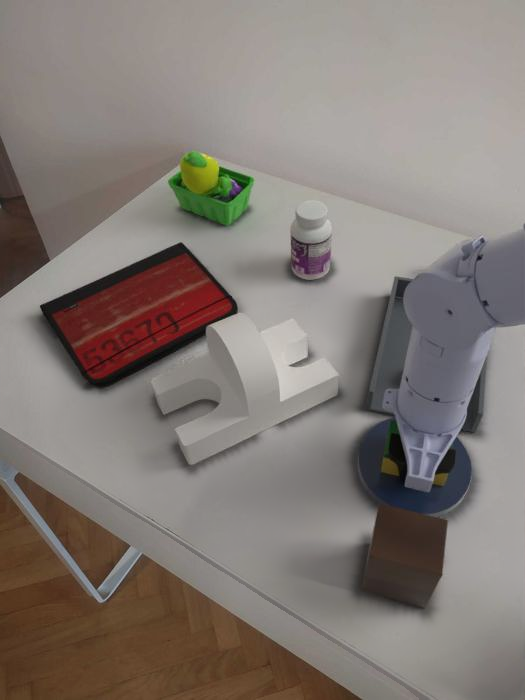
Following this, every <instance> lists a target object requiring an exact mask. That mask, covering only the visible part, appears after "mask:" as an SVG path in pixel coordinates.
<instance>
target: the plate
mask: <svg viewBox="0 0 525 700" xmlns="http://www.w3.org/2000/svg"><path fill="white" fill-rule="evenodd" d="M390 420H395V421H396V417H395V416H393V417H389V418H387V419H384V420H382V421H380V422H379V423H376V424H375V425H374V426H373V427H371V429H370V430H368V432H367V433H366V434H365V435H364V436H363V438H362V441H361V442H360V446H359V449H358V454H357V472H358V476H359V480H360V482H361V484H362V486H363V488H364V489H365V491H366V493H367V494H368V495H369V496H370V497H371V499H372V500H373V501H375V502H376V503H377V504H378V505H379V503H380V504H384V505H388V506H392V507H396V508H401V509H405V510H409V511H413V512H417V513H421V514H425V515H429V516H433V517H437V518H440V517H442V516H444V515H446V514H448V513H450V512H451V511H453V510H455V509H456V508H457V507H458V506H459V505H460V504H461V503H462V501H463V500H464V498H465V497H466V495H467V492H468V490H469V488H470V485H471V482H472V476H473V467H472V460H471V458H470V455H469V453H468V451H467V449H466V447H465V445H464V444H463V442H462V441H461V440H460V439H459V438H458V436H456V438H455V439H454V441H453V447H452V449H454V450H456V456H455V464H454V467H453V469H452V470H451V472H450V473H448V476H447V478H446V481H445V484H444V486H440V485H435V484H432V486H431V489H430V492H425V491H420V490H415V489H413V488H408V487H405V482H402V481H401V479H400V476H396V475H392V474H387V473H383V472H381V468H382V462H383V457H384V452H385V446H386V441H387V436H388V431H389V426H390Z"/></svg>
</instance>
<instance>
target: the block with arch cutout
mask: <svg viewBox="0 0 525 700" xmlns="http://www.w3.org/2000/svg"><path fill="white" fill-rule="evenodd" d="M205 338H206V343H207V349H208V353H207V354H205V355H203V356H201V357H198V358H196V359H193V360H191V361H188V362H187V363H184V364H182V365H180V366H177V367H174V368H172V369H170V370H168V371H165V372H163V373H161V374H157V375H156V376H154V377H153V378H151V381H150V383H151V386H152V390H153V392H154V395H155V399H156V401H157V405H158V407H159V409H160V411H161V412H162V415H163V416H165V415H168V414H170V413H171V412H174V411H176V410H178V409H181V408H183V407H185V406H187V405H189V404H192V403H194V402H197V401H200V400H211V401H213V402H216V403H218V404H217V406H216V407H215V408H214V409H213V410H212V411H210V412H208V413H206V414H204V415H201V416H199V417H197V418H195V419H193V420H191V421H189V422H186V423H184V424H182V425H180V426H177V427H175V428H174V431H175V435H176V437H177V442H178V444H179V448H180V450H181V452H182V454H183V455H184V458H185V460H186V462H187V463H188V465H190V466H193V465H196V464H197V463H200V462H202V461H203V460H205V459H208V458H209V457H212V456H214V455H217V454H218V453H220V452H223V451H225V450H227V449H229V448H230V447H233V446H235V445H237V444H239V443H242V442H244V441H245V440H247V439H249V438H252V437H253V436H255V435H257V434H260V433H262V432H264V431H265V430H268V429H270V428H272V427H275V426H276V425H278V424H280V423H283V422H285V421H287V420H289V419H291V418H292V417H293V418H294V417H295V416H297V415H299V414H302V413H303V412H305V411H308V410H309V409H311V408H314V407H316V406H318V405H320V404H322V403H324V402H326V401H329V400H330V399H333V398H334V397H338V392H339V381H340V380H339V379H340V374H339V372H337V370H336V369H335V368H334V366H332V364H331V362H329V360H328V359H327V358H326V356H324V357H322V358H320V359H317V360H315V361H312V362H311V363H309V364H307V365H303V366H299V367H297V366H291V365H293V364H295V363H297V362H299V361H301V360H304V359H307V358H308V353H309V352H308V351H309V350H308V342H309V339H308V338H309V336H308V334H307V333H306V331H304V330H303V329H302V327H301V325H300V324H298V322H297V321H296V320H295V318H294V317H293V318H290V319H288V320H285V321H283V322H280V323H279V324H278V323H277V324H276V325H274V326H271V327H269V328H266V329H264V330H262V331H260V330H259V329H258V326H256V324H255V323H254V322H253V320H252V319H251V318H250V317H249V316H248V315H246V314H245V313H244V312H237V314H235V315H233V316H230V317H228V318H225V319H223V320H220V321H218V322H215V323H213V324H211V325H208V326H207V327H206V335H205Z"/></svg>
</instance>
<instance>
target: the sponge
mask: <svg viewBox="0 0 525 700" xmlns="http://www.w3.org/2000/svg"><path fill="white" fill-rule="evenodd" d="M391 433H395V434H400V433H399V429H398V425H397V421H395V420H390V426H389V431H388V436H387V441H386V446H385V452H384V457H383V462H382V468H381V472H383V473H387V474H392V475H396V476H399V471H398V466H397V465H396V464H395V463H394V462H393V461H391V460H390V459H389V455H388V447H389V442H390V437H391ZM452 447H453V443H452V444H451V446H450V448H449V449H452ZM447 476H448V473H442V474H437V475H434V481H433V484H435V485H440V486H444V484H445V481H446V478H447Z"/></svg>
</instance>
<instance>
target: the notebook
mask: <svg viewBox="0 0 525 700" xmlns="http://www.w3.org/2000/svg"><path fill="white" fill-rule="evenodd" d="M39 308H40V311H41V312H42V314H43V316H44V318H45V319H46V321H47V322H48V324H49V325H50V327H51V329H52V330H53V332H54V333H55V335H56V336H57V338H58V339H59V341H60V343H61V344H62V346H63V347H64V349H65V350H66V352H67V353H68V355H69V357H70V358H71V359H72V361H73V363H74V365H75V366H76V367H77V369H78V370H79V372H80V374H81V376H82V378H84V380H85V381H86V382H88V384H89V385H91V386H92V387H97V388H104V387H108V386H111V385H114V384H116V383H117V382H119V381H122V380H123V379H125V378H127V377H129V376H131V375H133V374H135V373H137V372H139V371H141V370H143V369H144V368H147V367H149V366H151V365H152V364H154V363H156V362H159V361H161V360H163V359H164V358H166V357H168V356H171V355H172V354H174V353H176V352H177V351H179V350H181V349H183V348H185V347H187V346H188V345H190V344H192V343H194V342H196V341H197V340H199V339H201V338H203V337H205V336H206V327H207V326H208V325H211V324H213V323H215V322H218V321H220V320H223V319H225V318H228V317H230V316H233V315H235V314H237V313H238V312H239V311H238V310H239V308H238V303H237V301H236V300H235V299H234V298H233V295H231V294H230V293H229V292H228V291H227V290H226V289H225V287H224V286H223V285H222V284H221V283H220V282H219V280H217V278H215V277H214V275H213V274H212V273H211V272H210V271H209V269H208V268H206V266H205V265H204V264H203V263H202V262H201V261H200V260H199V259H198V258H197V257H196V256H195V255H194V254H193V252H192V251H191V250H190V249H189V248H188V247H187V246H186V245H185V243H183V241H180V242H178V243H175V244H173V245H171V246H169V247H167V248H164V249H161V250H160V251H157V252H155V253H153V254H151V255H149V256H147V257H145V258H142V259H140V260H138V261H136V262H133V263H132V264H129V265H127V266H125V267H122V268H121V269H118V270H116V271H114V272H112V273H109V274H107V275H105V276H103V277H101V278H99V279H96V280H93V281H91V282H89V283H87V284H85V285H83V286H81V287H78V288H76V289H74V290H72V291H69V292H67V293H65V294H63V295H60V296H58V297H56V298H54V299H51V300H49V301H47V302H44V303H42V304H40V305H39Z"/></svg>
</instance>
